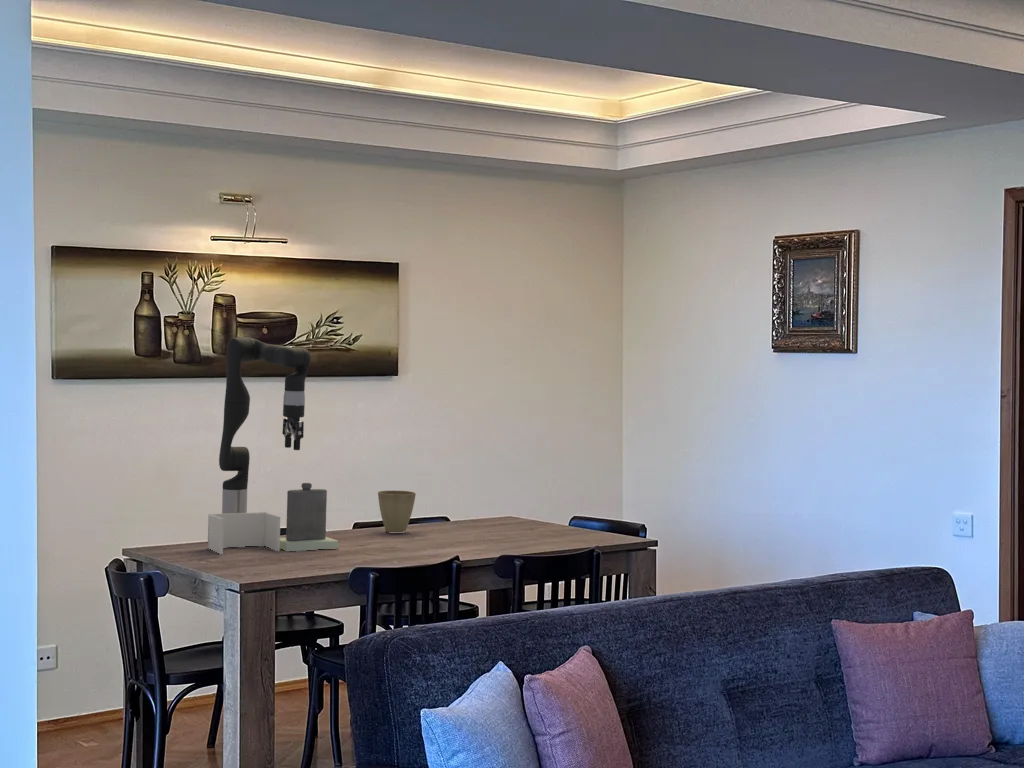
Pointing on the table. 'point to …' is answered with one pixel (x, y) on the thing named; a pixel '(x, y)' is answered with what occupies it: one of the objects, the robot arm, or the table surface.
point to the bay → (243, 530)
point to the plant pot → (396, 509)
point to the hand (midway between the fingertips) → (292, 448)
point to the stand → (308, 544)
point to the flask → (306, 514)
